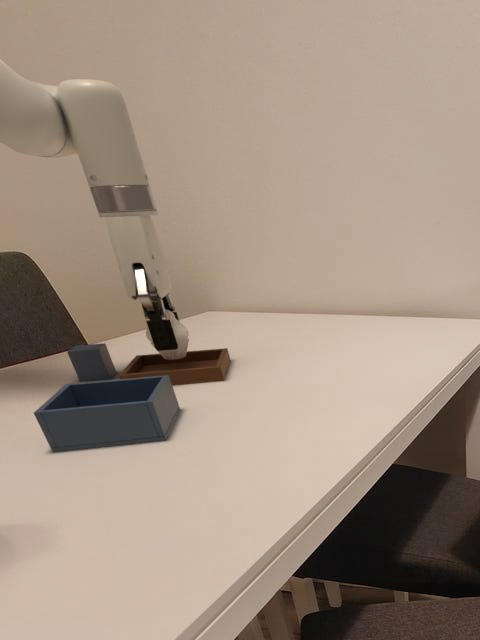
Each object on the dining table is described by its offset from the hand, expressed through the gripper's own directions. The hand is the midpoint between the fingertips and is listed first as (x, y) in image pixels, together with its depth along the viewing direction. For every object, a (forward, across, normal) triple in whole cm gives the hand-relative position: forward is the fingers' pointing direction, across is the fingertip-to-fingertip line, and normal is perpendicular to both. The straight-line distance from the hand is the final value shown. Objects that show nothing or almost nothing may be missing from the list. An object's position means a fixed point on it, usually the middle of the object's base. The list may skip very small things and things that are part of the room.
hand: (170, 343), depth 92 cm
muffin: (+2, 0, 0) cm, 2 cm away
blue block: (+5, -3, -13) cm, 14 cm away
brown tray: (+5, 0, 0) cm, 5 cm away
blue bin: (+5, +27, -3) cm, 28 cm away
